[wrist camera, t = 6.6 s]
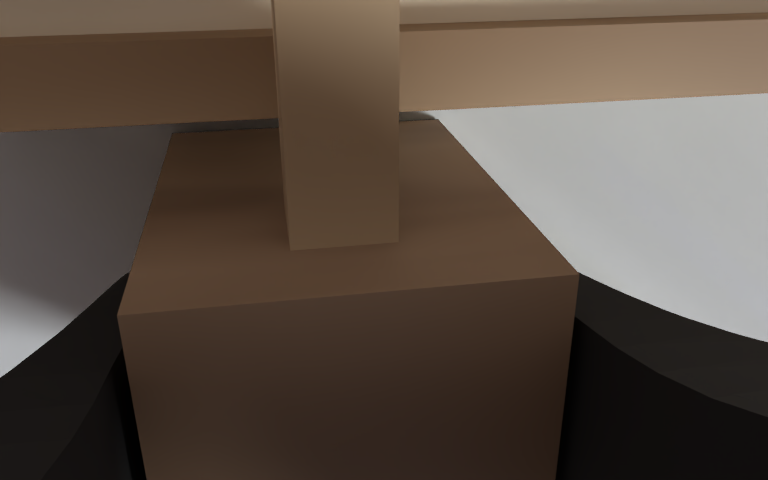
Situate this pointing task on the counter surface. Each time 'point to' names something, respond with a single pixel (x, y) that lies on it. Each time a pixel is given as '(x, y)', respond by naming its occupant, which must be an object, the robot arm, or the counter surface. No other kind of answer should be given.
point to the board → (416, 56)
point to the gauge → (343, 287)
